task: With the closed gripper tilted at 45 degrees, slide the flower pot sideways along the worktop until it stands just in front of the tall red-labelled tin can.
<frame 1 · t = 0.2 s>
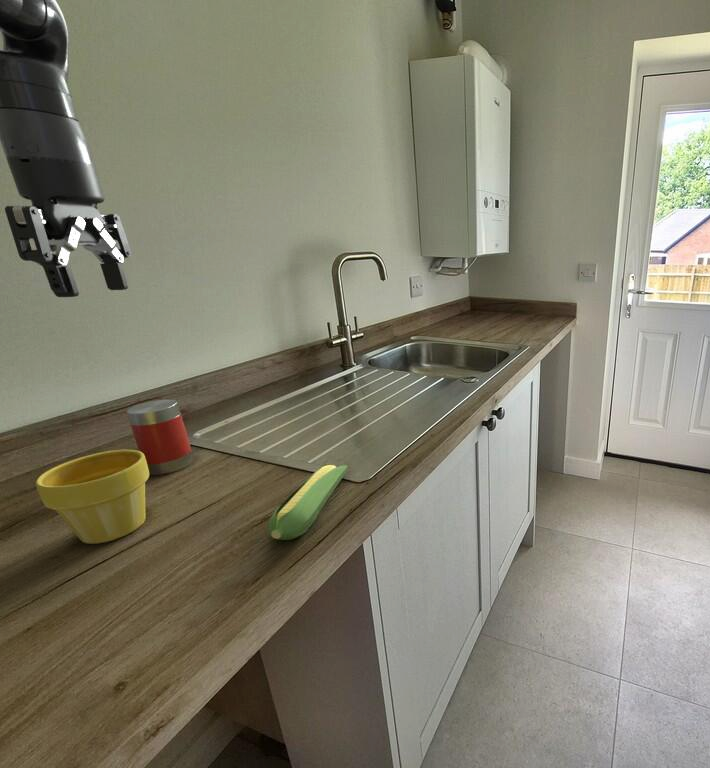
hand: (94, 293, 56), 31 cm above the table, tool pointing down, fingers open, 8 cm apart
tin can: (170, 465, 74), on the table
edible corn: (317, 506, 62), on the table
flower pot: (116, 529, 57), on the table
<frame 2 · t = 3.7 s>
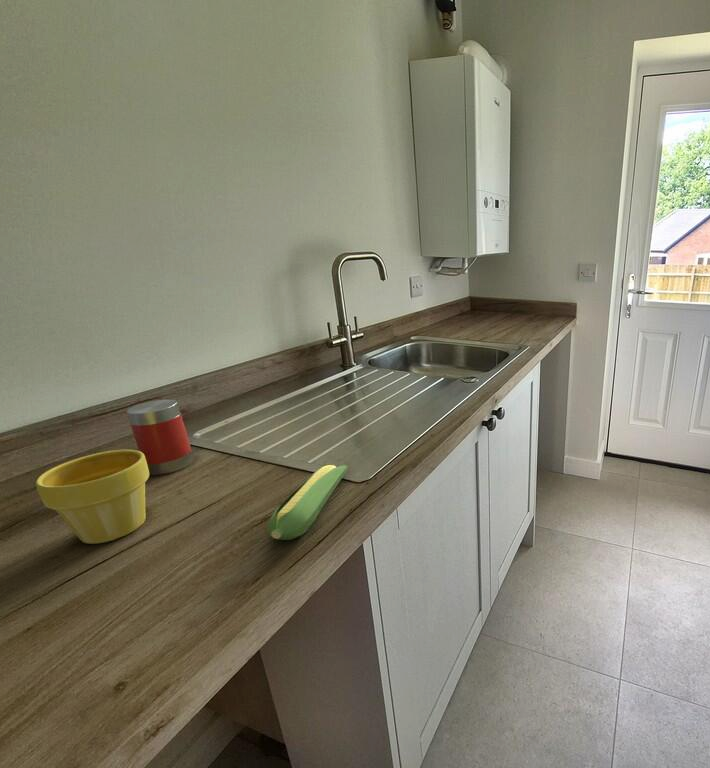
nothing on the table moved.
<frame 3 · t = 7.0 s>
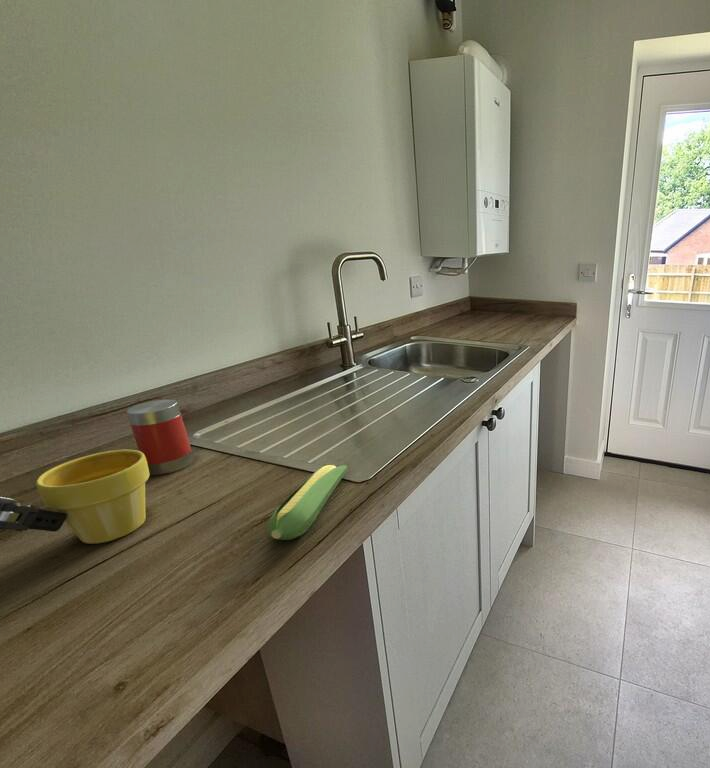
hand: (58, 522, 51), 5 cm above the table, tool tilted 45°, fingers closed
flower pot: (116, 529, 57), on the table, touching gripper
everything else where it was.
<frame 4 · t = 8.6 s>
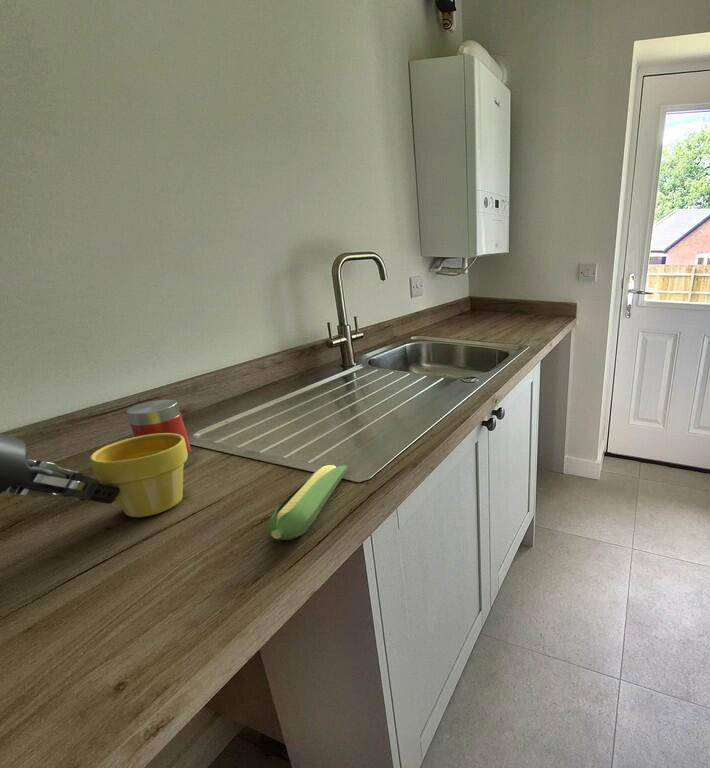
hand: (112, 495, 56), 5 cm above the table, tool tilted 45°, fingers closed
flower pot: (156, 505, 62), on the table, touching gripper
everything else where it was.
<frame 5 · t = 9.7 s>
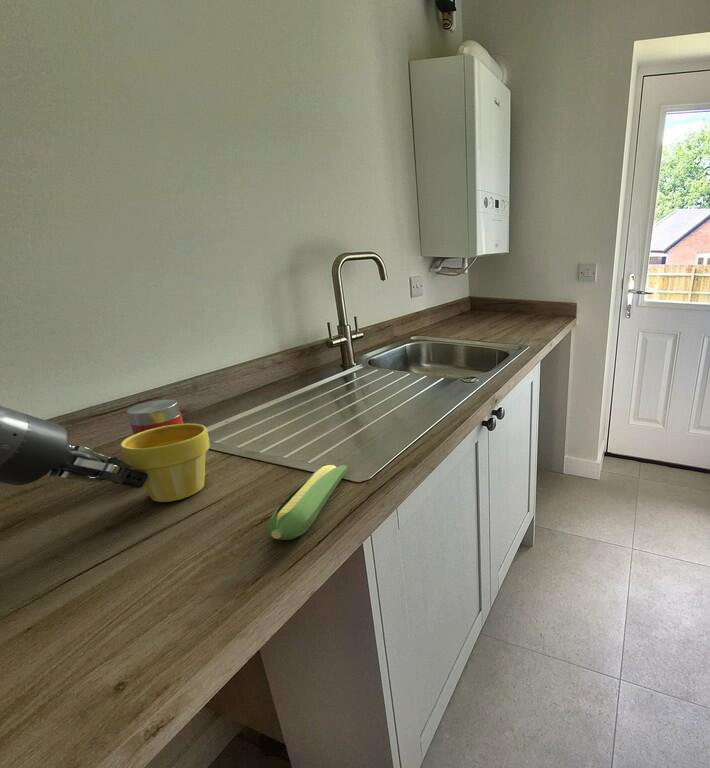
hand: (141, 480, 60), 5 cm above the table, tool tilted 45°, fingers closed
flower pot: (179, 492, 66), on the table, touching gripper
everything else where it was.
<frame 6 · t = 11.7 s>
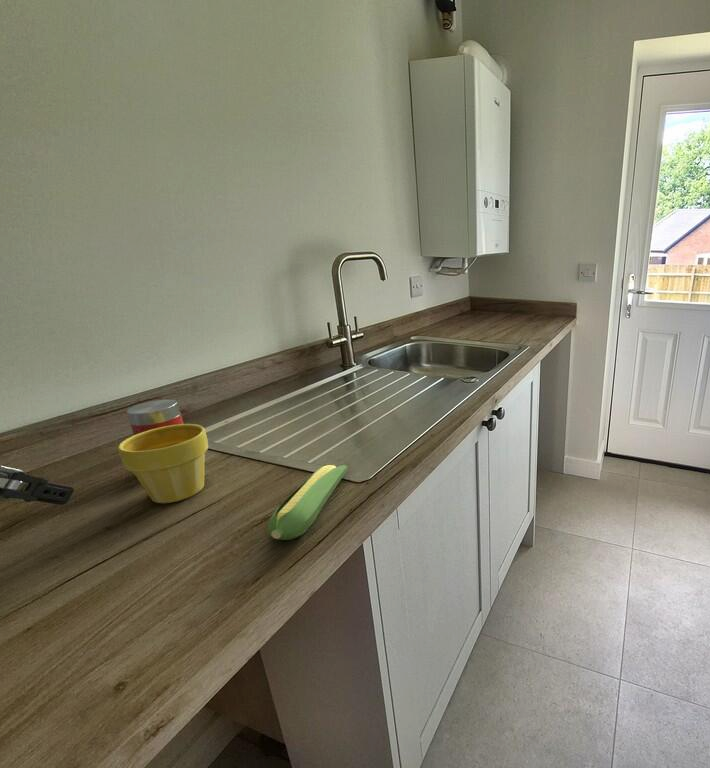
hand: (65, 495, 51), 8 cm above the table, tool tilted 45°, fingers closed
flower pot: (180, 492, 66), on the table
everything else where it was.
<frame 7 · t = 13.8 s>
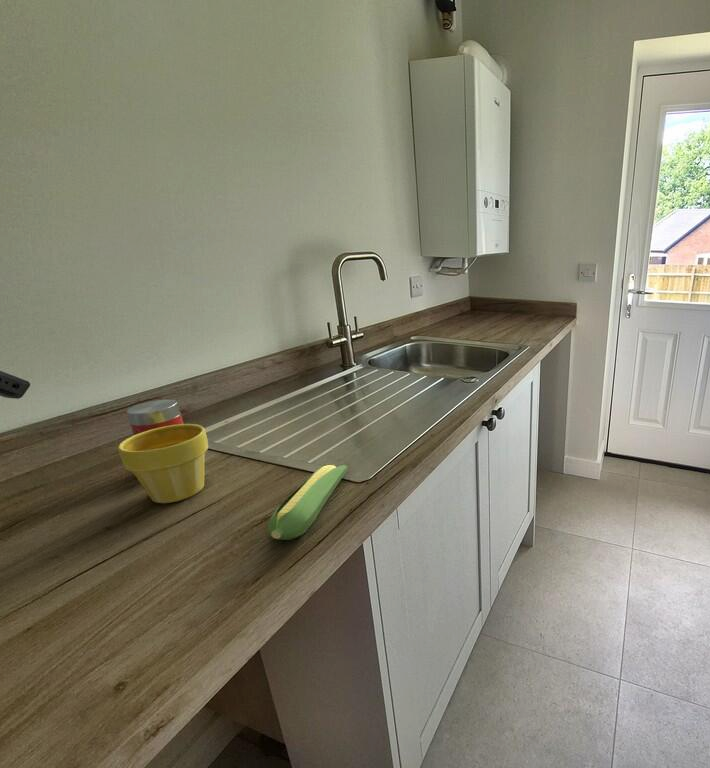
hand: (21, 390, 47), 22 cm above the table, tool tilted 45°, fingers closed
nothing on the table moved.
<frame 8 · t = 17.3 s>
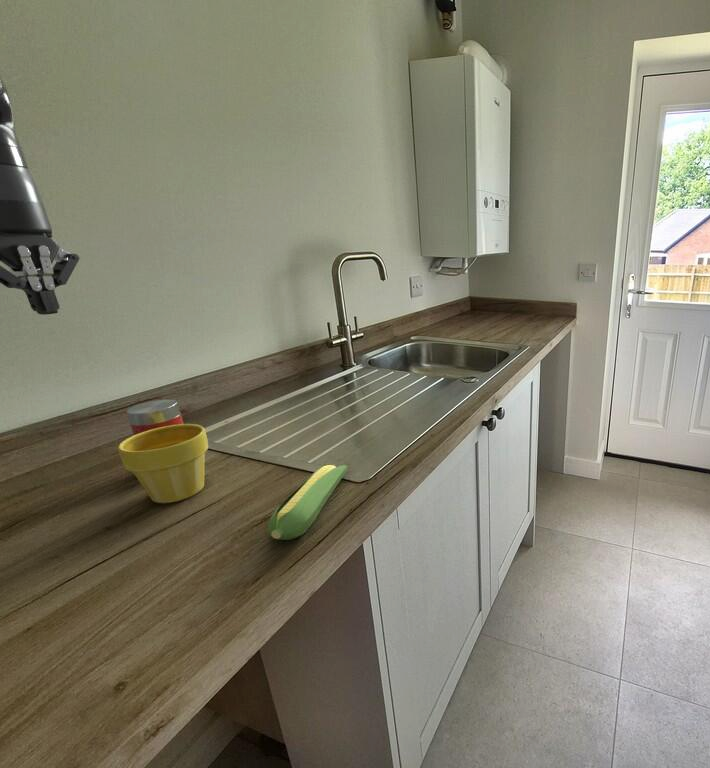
hand: (47, 313, 67), 27 cm above the table, tool pointing down, fingers closed
nothing on the table moved.
at the end: flower pot inside the target area on the table beside the tin can (1.0 cm from its centre), on the table; flower pot tilted 0°; tin can moved 0.0 cm from its start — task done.
